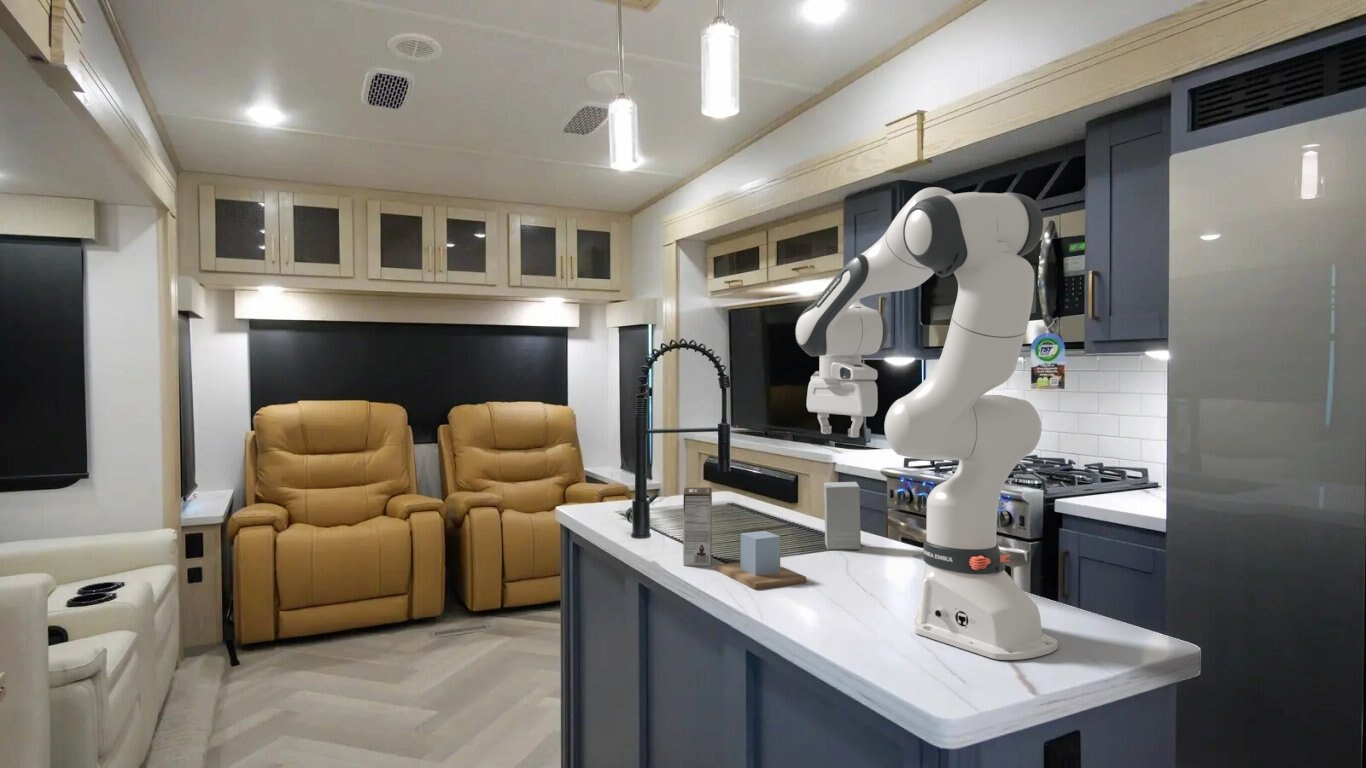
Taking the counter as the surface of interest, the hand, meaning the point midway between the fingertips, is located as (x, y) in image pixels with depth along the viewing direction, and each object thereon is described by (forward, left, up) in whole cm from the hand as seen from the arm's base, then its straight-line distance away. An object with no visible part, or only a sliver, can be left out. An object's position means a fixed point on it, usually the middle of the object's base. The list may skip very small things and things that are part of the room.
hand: (839, 435), depth 163 cm
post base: (+3, +18, -29) cm, 34 cm away
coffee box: (+20, +24, -29) cm, 43 cm away
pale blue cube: (+3, +18, -28) cm, 33 cm away
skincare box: (+17, -14, -29) cm, 37 cm away
